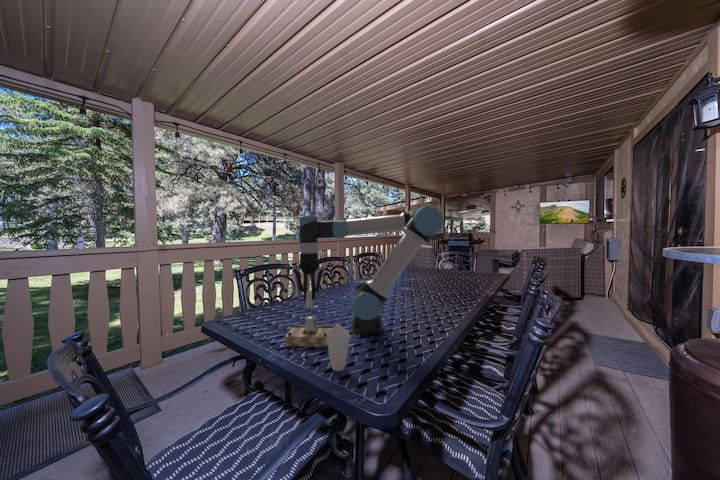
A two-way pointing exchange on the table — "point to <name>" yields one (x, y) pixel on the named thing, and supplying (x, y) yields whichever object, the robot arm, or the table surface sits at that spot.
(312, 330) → the grey metal peg
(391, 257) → the robot arm
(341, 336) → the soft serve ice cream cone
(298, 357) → the table surface
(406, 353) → the table surface
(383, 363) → the table surface
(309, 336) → the plate
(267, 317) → the table surface
